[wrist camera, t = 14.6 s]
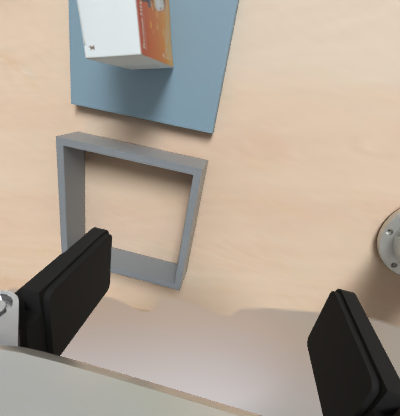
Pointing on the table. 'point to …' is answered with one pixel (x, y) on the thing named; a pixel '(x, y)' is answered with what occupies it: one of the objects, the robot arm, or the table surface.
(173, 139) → the table surface
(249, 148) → the table surface
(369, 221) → the table surface
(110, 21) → the small box
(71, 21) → the board
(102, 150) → the rectangular frame
